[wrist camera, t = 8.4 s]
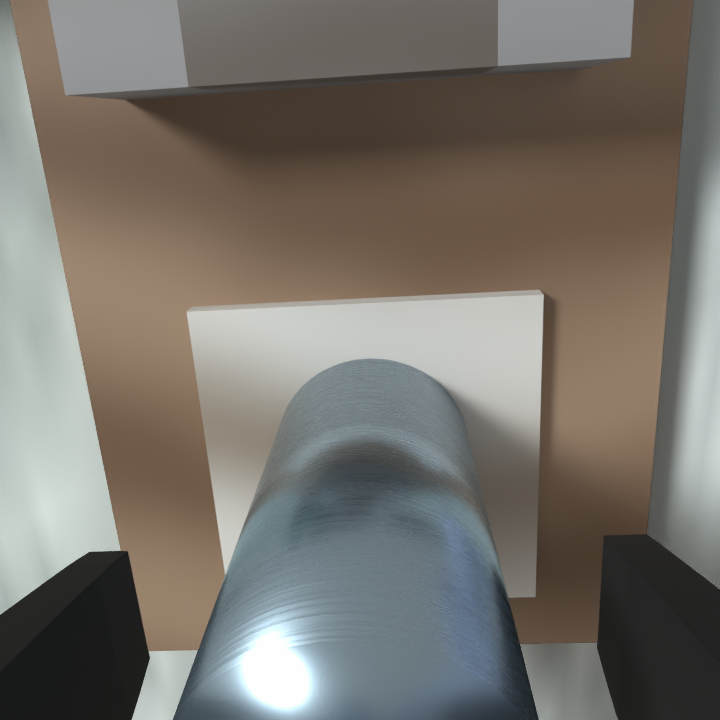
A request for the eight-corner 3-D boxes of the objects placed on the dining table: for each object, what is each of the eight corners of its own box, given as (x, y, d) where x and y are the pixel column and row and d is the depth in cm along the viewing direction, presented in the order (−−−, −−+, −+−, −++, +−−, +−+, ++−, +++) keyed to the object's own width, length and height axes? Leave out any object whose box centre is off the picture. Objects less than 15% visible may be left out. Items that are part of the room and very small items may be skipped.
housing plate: (-66, -526, 11) (-265, -808, 8) (720, -623, 10) (879, -982, 7) (154, 623, 18) (100, 736, 15) (623, 612, 17) (678, 729, 14)
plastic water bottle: (508, 446, 14) (669, 892, 6) (375, 562, 15) (360, 1075, 7) (368, 318, 14) (336, 629, 5) (239, 449, 15) (42, 879, 6)
